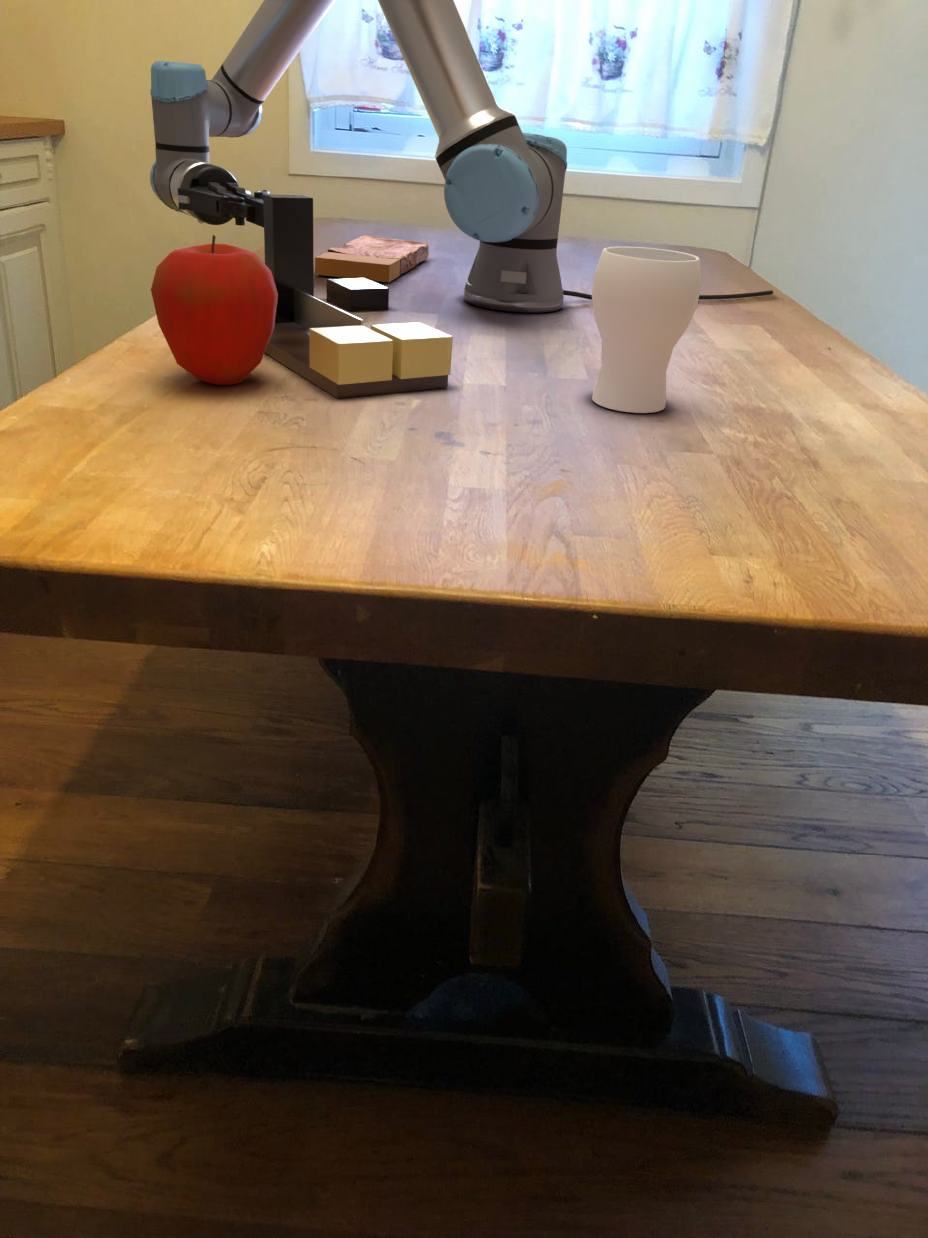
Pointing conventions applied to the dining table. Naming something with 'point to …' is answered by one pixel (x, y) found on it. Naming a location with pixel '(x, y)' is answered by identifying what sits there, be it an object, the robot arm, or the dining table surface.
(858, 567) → the dining table surface
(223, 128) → the robot arm
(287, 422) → the dining table surface
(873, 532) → the dining table surface
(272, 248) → the butter slicer
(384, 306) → the dark rectangular block
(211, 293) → the apple
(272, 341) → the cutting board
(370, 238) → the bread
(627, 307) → the cup
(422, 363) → the butter
